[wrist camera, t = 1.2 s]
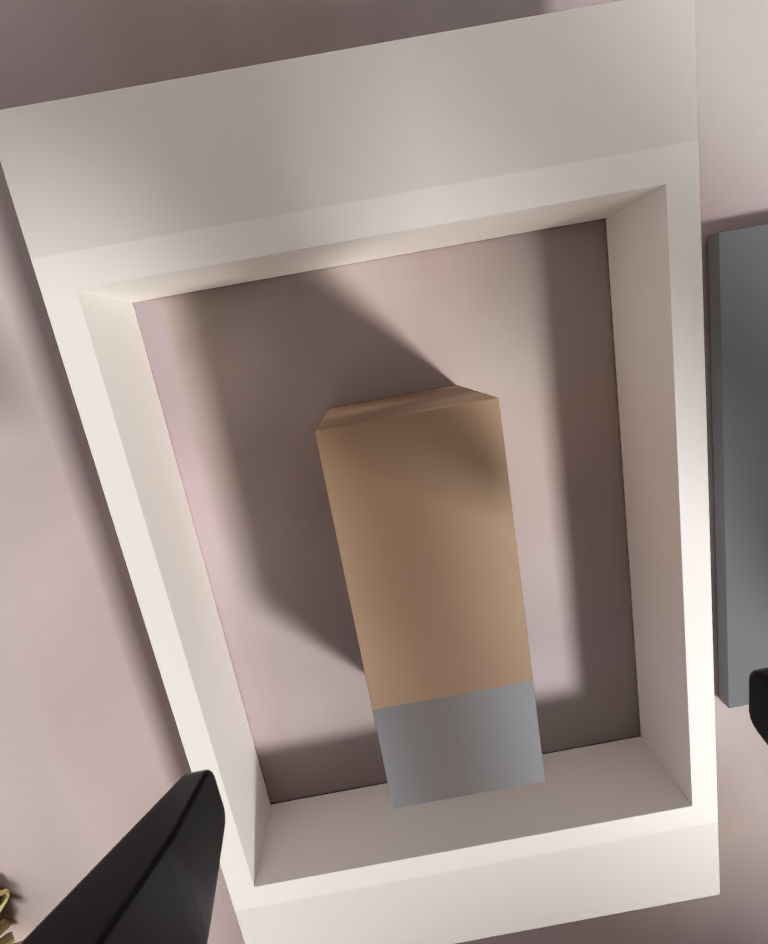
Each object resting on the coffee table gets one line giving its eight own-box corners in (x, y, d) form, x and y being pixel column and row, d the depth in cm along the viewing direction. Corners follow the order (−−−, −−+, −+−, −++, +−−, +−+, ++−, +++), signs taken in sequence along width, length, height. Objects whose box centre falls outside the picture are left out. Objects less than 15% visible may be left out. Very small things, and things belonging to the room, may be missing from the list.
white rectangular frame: (624, 64, 14) (694, -13, 11) (666, 814, 20) (720, 894, 17) (64, 163, 14) (-16, 112, 11) (272, 887, 20) (256, 980, 17)
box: (456, 384, 16) (498, 398, 11) (495, 666, 18) (545, 781, 13) (329, 408, 16) (314, 431, 11) (384, 686, 18) (393, 808, 13)
